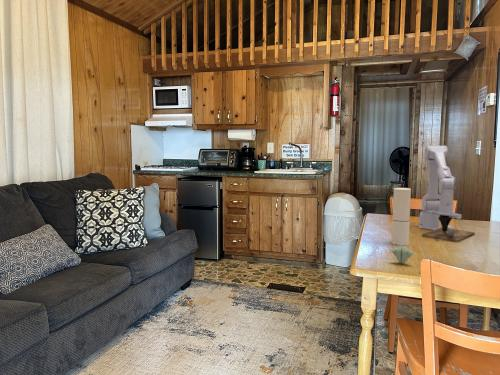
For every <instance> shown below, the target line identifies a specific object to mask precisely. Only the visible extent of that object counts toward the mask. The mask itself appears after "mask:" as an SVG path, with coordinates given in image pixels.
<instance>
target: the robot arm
mask: <svg viewBox="0 0 500 375" xmlns="http://www.w3.org/2000/svg"><path fill="white" fill-rule="evenodd" d="M448 152H449V149H448V146H447V145H426V146H425V149H424V162H426V163H427V166H428V168H427V170H428V173H427V174H428V176H427V178H428V179H427V180H428V181H427V183H428V184H427V193H426V194H425V195H423V196H422V200H421V211H420V213H419V217H418V219H419V220H418V226H417V227H418V229H419V228H420V229H426V230H430V231H433V230H436V229H439V228H442V231H443V232H446V231H447V227H448V225H450V222H451V221H452V220H453V219H456V220H460V219H462V216H463V215H462V214H461V213H456V212H453V210H454V191H455V190H456V188H457V180H456V178H455V176H453V175H452V173H451V168H450V167H449V166H447V161H446V158H447V156H448ZM440 224H441V226H440Z"/></svg>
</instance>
